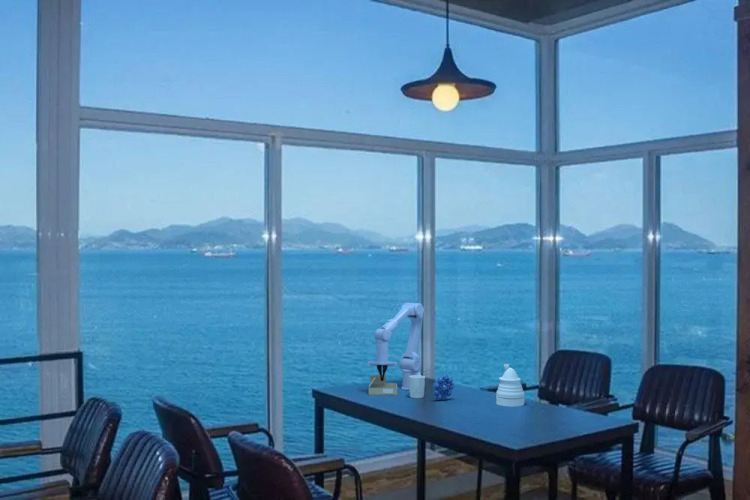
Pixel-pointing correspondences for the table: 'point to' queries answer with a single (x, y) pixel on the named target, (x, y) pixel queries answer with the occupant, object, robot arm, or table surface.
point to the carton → (383, 389)
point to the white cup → (416, 386)
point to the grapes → (443, 387)
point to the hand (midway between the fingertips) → (382, 380)
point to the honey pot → (510, 389)
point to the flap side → (377, 379)
